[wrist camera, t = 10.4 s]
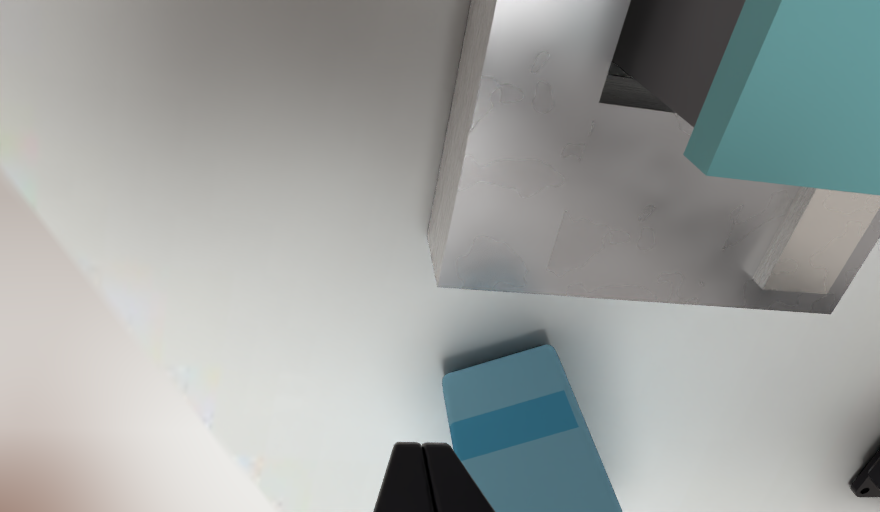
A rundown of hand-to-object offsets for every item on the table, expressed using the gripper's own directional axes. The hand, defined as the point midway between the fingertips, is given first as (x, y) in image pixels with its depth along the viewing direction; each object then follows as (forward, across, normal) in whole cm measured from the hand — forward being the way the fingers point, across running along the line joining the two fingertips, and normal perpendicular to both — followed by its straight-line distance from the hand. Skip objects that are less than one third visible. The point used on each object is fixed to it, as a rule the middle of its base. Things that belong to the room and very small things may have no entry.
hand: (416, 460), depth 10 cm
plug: (+12, -8, -6) cm, 16 cm away
